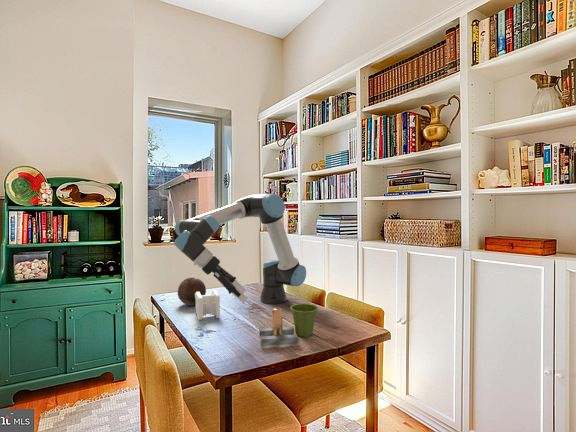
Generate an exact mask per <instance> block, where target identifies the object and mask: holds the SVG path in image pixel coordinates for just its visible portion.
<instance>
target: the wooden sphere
mask: <svg viewBox="0 0 576 432" xmlns="http://www.w3.org/2000/svg"><path fill="white" fill-rule="evenodd" d="M196 292H200V294H201V296H202V295H207V288H206V285H205V283H204V282H203V280H201V279H200V278H198V277H188V278H186V279H184V280H182V281H181V282H180V283H179V285H178V288H177V296H178V299H179V300H180V302H181V303H182V304H184V305H187V306H196V298H195V293H196Z"/></svg>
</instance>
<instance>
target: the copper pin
mask: <svg viewBox="0 0 576 432" xmlns="http://www.w3.org/2000/svg"><path fill="white" fill-rule="evenodd" d="M271 324H272V325H271V328H272V333H273V336H278V335H283V329H282V327H283V308H282V307H272V308H271Z"/></svg>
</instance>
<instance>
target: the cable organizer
mask: <svg viewBox="0 0 576 432" xmlns="http://www.w3.org/2000/svg"><path fill="white" fill-rule="evenodd" d="M211 291H212V292H211V294H205V295H202V296H201V294H200V292H196V293H195V298H196V305H195V314H196V316H197V319H198V320H199V321H202V320H204V317H206V316H207V315H210V314H211V315H212V316H213V315H214V316H215V318H216V319H218V318H221V310H220V309H221V304H220V303H221V302H220V301H221V296H220V293H219V292H218V291H217V289H212V290H211Z"/></svg>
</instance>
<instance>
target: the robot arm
mask: <svg viewBox="0 0 576 432" xmlns="http://www.w3.org/2000/svg"><path fill="white" fill-rule="evenodd" d="M284 213H285V202H284V200H283V198H282V197H281V196H280V195H278V194H274V193H262V194H261V193H259V194H251V195H248V196H244V197H242V198H239V199H237V200H234V201H233V202H232V204H229V205H225V206H222V207H221V208H217V209H215V210H212V211H208V212H206V213H203V214H200V215H196V216H195V217H192V218H188V219H180V220H178V221H177V222H176V224H175V226H174V232H175V233H176V235H177V237H176V238H175V239H174V241H173V245H175V247H176V248H177V249H178V250H179V251H180V252H181V253H182V254H183V255H185V256H186V257H187V258H188V259H190V261H192V262H193V265H194V266H196V267H198V268H200V269H201V271H202V272H203V273H205V275H207V276H208V275H210V274H211V273H213V277H214V278H215V279H216V280H217V281H218V282H219V283H220V284H221V285H222V287H224V288H225V289H226V290H227V292H228V294H229V295H231V294H232V295H233V296H234V297H235V298H237V299H238V300H239V301H240V302H241V303H242V304H244V303H246V301H247V300H249V297H247V296H246V295H245V294H244V293H245V292H246V291H247V288H245V287H244V286H243V285H242V284H241V283H240V282H239V281H238V280H237V277H236V276H233V275H232V274H231V273H229V272H228V271H227V270H226V269H224V268H223V267H222V266H221V265H220V263H221V261H220V259H219V258H218V257H216V256H215V255H214V254H213V253H212V252H211V251H210V249H208V248H207V247H206V246H204V245H205V243H207V241H209V240H210V238H211V237H212V236H213V235H215V234H216V232H217V231H218V229H219V228H220V226H221V225H223V224H226V223H229V222H231V221H234V220H236V219H240V220H242V219H244V218H259V220H260V223H261V224H262V225H264V226H265V227H266V230H267V233H268V235H269V239H270V241H271V244H272V246H273V249H274V252H275V255H276V258H277V259H274V260H267V261H264V262H263V265H262V284H263V285H262V286H263V287H262V290H261V294H260V299H259V301H260V302H261V303H263V304H271V305H272V304H275V305H276V304H282V303H285V302H286V301H287V298H288V297H287V294H286V290H285V287H284V286H290V287H301V286H302V285H303V283H304V282H305V281H306V277H307V269H306V267H305V266H304V265H302V264H300V262H299V259H298V258H297V257H295V256H294V252H293V249H292V247H291V245H290V241H289V238H288V234H287V232H286V229H285V225H284V223H283V220H282V219H283V218H284Z"/></svg>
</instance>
